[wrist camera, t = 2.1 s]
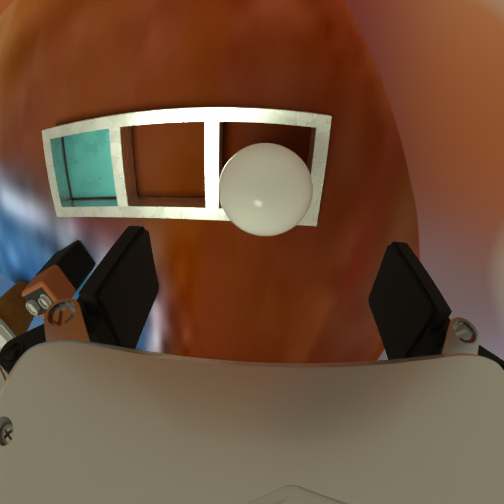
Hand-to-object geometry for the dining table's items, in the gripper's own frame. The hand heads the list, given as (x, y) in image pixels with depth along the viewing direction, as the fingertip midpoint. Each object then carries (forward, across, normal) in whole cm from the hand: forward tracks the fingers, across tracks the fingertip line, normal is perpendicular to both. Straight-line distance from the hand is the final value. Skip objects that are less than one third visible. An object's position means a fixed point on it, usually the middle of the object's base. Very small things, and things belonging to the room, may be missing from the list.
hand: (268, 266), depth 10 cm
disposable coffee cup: (+17, +41, +22) cm, 50 cm away
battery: (+17, +25, +14) cm, 33 cm away
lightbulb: (+17, 0, 0) cm, 17 cm away
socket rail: (+17, +9, 0) cm, 19 cm away
